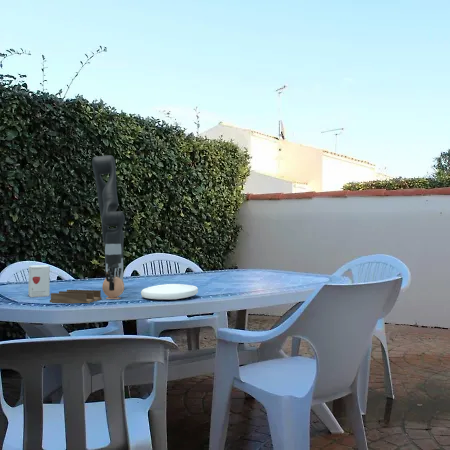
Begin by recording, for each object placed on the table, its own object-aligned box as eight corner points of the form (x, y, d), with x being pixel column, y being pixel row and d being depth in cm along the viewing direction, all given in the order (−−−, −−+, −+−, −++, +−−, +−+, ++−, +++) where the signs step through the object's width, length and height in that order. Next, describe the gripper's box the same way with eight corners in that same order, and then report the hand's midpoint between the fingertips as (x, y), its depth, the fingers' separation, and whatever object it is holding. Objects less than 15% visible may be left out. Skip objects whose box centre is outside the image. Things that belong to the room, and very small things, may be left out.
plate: (181, 292, 213) (129, 290, 223) (182, 307, 213) (130, 304, 223) (206, 279, 239) (159, 278, 249) (207, 292, 239) (160, 290, 249)
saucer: (105, 297, 230) (105, 275, 231) (124, 298, 228) (124, 275, 228) (102, 298, 227) (102, 276, 228) (121, 299, 225) (121, 276, 225)
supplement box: (30, 297, 233) (30, 266, 233) (28, 295, 241) (28, 265, 241) (49, 296, 237) (49, 265, 237) (47, 294, 245) (47, 264, 245)
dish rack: (66, 298, 229) (66, 289, 229) (101, 299, 225) (101, 290, 225) (49, 302, 215) (49, 293, 215) (86, 303, 211) (86, 294, 211)
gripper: (112, 252, 236) (112, 288, 236) (98, 254, 222) (98, 291, 222) (126, 252, 234) (126, 288, 234) (113, 254, 221) (114, 292, 220)
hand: (113, 289), depth 228 cm, fingers closed on saucer, 2 cm apart
